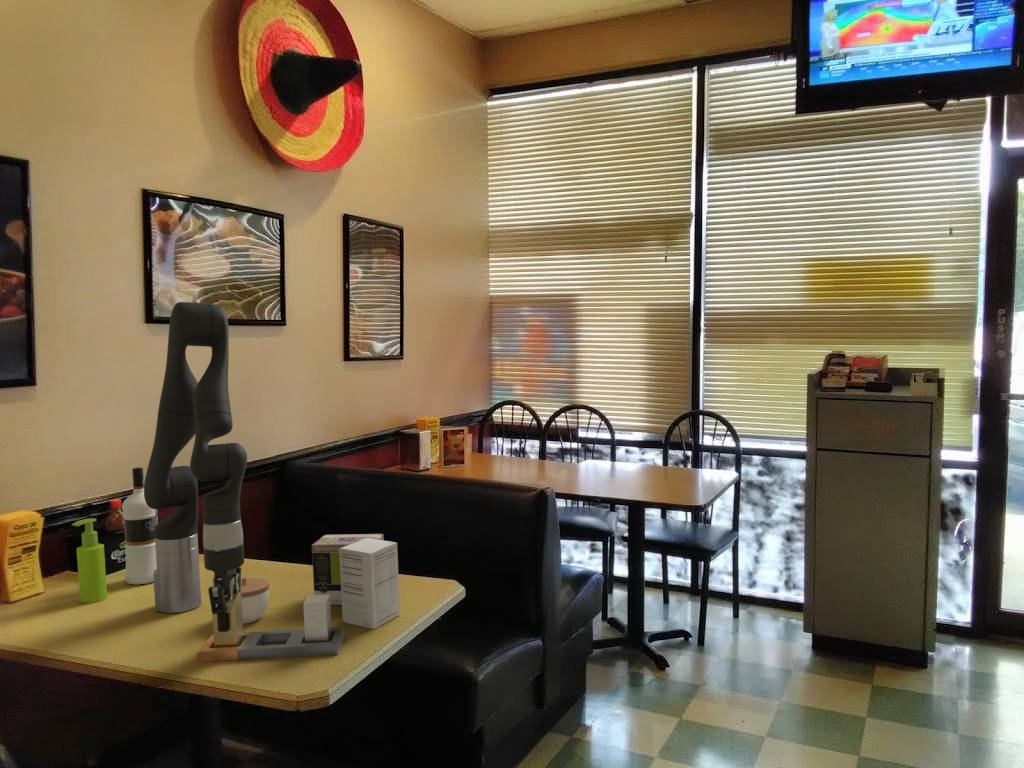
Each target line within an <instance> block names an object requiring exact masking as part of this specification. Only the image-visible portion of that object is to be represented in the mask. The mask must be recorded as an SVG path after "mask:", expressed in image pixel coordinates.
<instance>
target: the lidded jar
mask: <svg viewBox="0 0 1024 768" xmlns="http://www.w3.org/2000/svg"><path fill="white" fill-rule="evenodd" d="M240 592H241V600H242V618H243V625H245V624H249V623H253V622H257V621H258V620H259V619H260V618H261V616H262V615H263V614H264V613H265V611H266V610H267V607H268V604H269V600H270V581H269V580H268V579H266V578H262V577H246V576H245V577H244V576H243V577H241V589H240Z"/></svg>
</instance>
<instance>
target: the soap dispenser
mask: <svg viewBox="0 0 1024 768" xmlns="http://www.w3.org/2000/svg"><path fill="white" fill-rule="evenodd" d="M94 522H97V518H92V517H90V518H84V519H81V520H77V521H75V522H73V523H72V524H71V526H72V527H80V526H82V525H84V531H83V532H82V533H81V546H79V547H77V548H76V559H77V560H76V561H77V573H78V575H77V577H78V590H79V591H78V592H79V602H80V603H81V602H82V603H81V604H93V603H94V602H95V603H97V602H98V601H99V602H101V600H102V601H105V600H106V599H107V598H108V588H107V585H108V584H107V573H106V570H107V569H106V557H105V545H104V543H103V544H102V543H99V539H98V531H96V530H94V524H93V523H94ZM95 603H94V604H95Z"/></svg>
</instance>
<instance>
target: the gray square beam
mask: <svg viewBox="0 0 1024 768" xmlns="http://www.w3.org/2000/svg"><path fill="white" fill-rule="evenodd" d="M302 604H303V621H304V622H303V623H304V624H303V625H304V627H303V628H304V629H305V643H322V642H331V641H332V629H331V628H332V612H331V606H332V605H330V594H327V595H314V594H312V595H310V594H308V595H307V596H306V598H305V600H304V602H303V603H302Z"/></svg>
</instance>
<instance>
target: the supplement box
mask: <svg viewBox="0 0 1024 768" xmlns="http://www.w3.org/2000/svg"><path fill="white" fill-rule="evenodd" d="M339 555H340V575H341V595H342V605H341V610H342V612H341V613H342V614H341V615H342V622H343V623H345V624H349V625H354V626H358V627H362V628H367V629H372V630H375V629H376V628H378V627H380V626H382V625H385V624H387V622H390V621H392V620H393V619H395V618H397V617H399V616H400V615H401V605H400V604H401V602H400V581H399V580H400V579H399V558H398V556H399V553H398V543H397V542H394V541H389V540H384V541H383V540H377V539H371V538H365V539H363V540H360V541H358V542H355V543H352V544H350V545H347V546H345V547H342V548H340V549H339Z"/></svg>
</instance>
